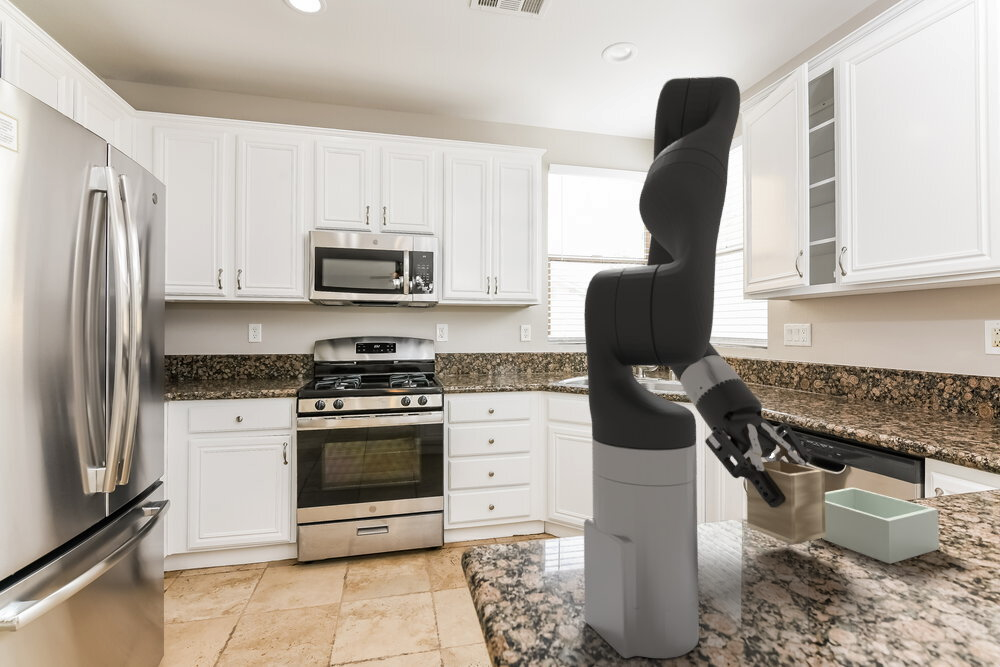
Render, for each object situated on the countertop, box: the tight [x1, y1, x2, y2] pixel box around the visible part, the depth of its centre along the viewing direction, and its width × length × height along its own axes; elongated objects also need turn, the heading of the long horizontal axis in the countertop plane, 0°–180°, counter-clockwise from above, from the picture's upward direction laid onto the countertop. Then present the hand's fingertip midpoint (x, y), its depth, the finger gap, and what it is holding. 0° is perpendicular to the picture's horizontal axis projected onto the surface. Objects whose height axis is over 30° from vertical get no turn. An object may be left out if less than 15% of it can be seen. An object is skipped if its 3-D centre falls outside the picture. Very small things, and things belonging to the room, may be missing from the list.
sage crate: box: [821, 486, 940, 565], centre depth 64 cm, size 10×10×5 cm
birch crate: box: [746, 460, 826, 546], centre depth 60 cm, size 6×6×8 cm
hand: (798, 500), depth 59 cm, fingers closed on birch crate, 6 cm apart
